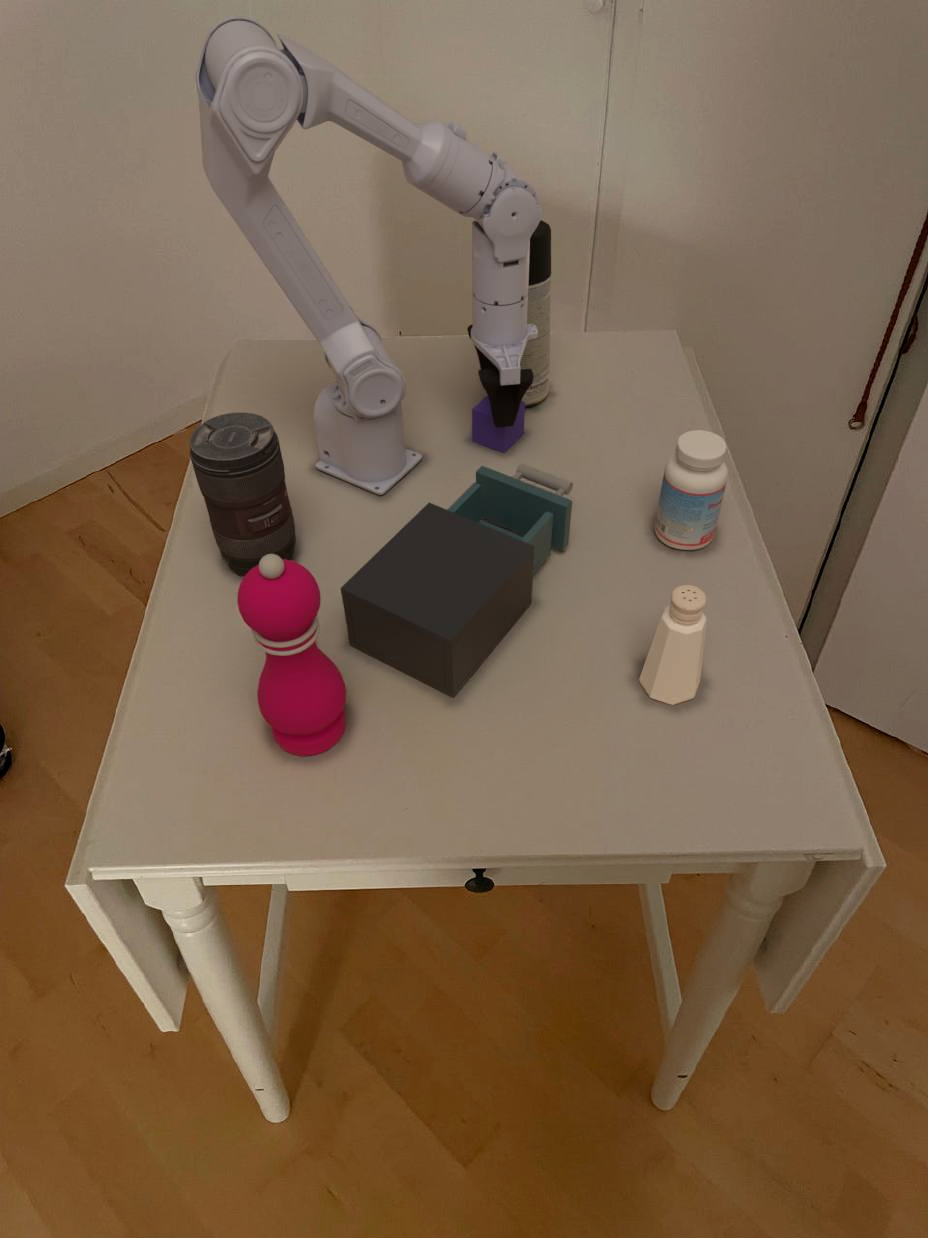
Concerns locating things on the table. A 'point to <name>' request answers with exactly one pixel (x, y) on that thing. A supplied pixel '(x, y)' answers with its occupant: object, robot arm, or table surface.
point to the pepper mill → (292, 657)
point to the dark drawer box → (439, 597)
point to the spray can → (539, 314)
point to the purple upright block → (487, 431)
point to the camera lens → (244, 488)
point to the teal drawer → (521, 507)
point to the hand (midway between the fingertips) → (498, 405)
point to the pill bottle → (692, 491)
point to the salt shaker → (677, 648)
